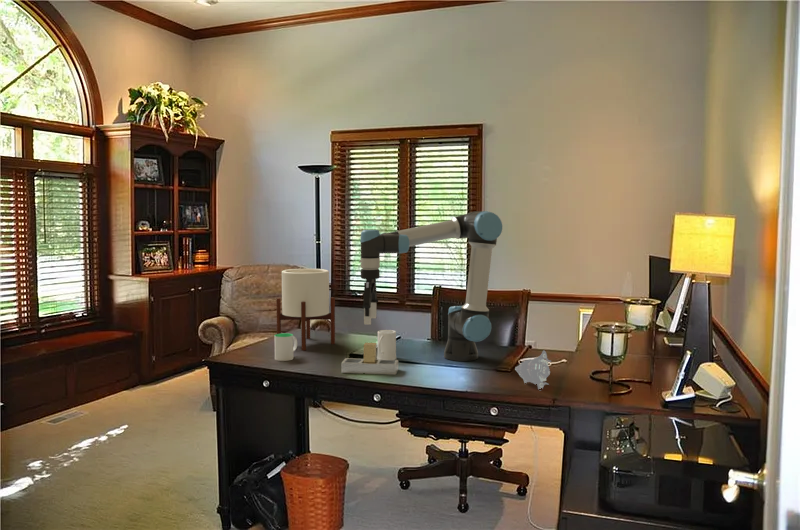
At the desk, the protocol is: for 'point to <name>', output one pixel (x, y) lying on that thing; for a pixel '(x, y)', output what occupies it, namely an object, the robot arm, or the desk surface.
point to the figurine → (535, 370)
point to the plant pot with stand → (305, 300)
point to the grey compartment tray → (369, 366)
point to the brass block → (370, 353)
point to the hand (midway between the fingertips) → (370, 321)
